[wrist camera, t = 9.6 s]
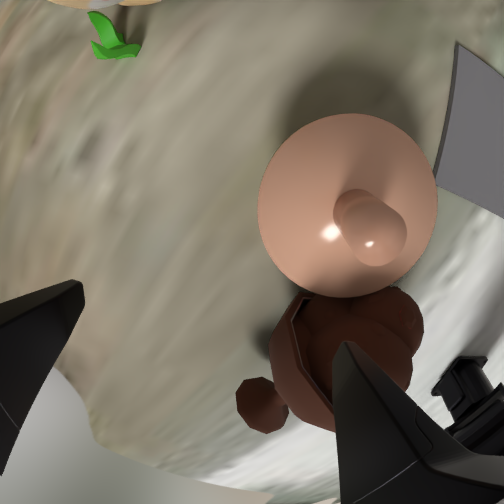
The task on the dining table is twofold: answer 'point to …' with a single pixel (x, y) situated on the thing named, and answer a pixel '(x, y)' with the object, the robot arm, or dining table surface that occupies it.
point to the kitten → (107, 27)
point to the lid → (347, 205)
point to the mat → (473, 134)
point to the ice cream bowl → (329, 354)
